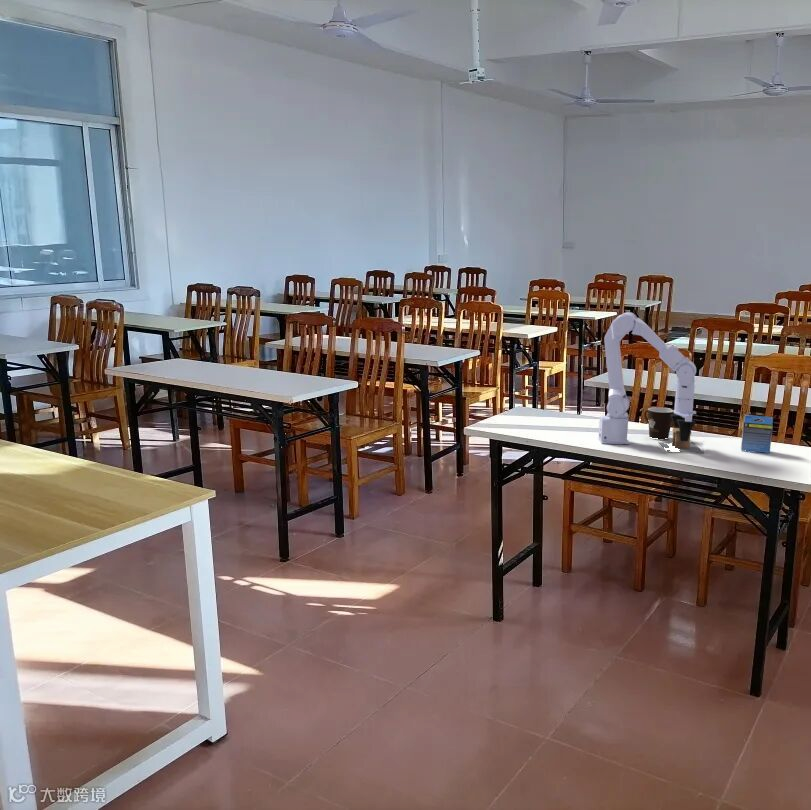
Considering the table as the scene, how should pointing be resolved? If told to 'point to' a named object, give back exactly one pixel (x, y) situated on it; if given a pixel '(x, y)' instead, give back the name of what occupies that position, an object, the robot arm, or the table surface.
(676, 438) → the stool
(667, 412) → the coffee mug
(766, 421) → the label tape box
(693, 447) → the mat
